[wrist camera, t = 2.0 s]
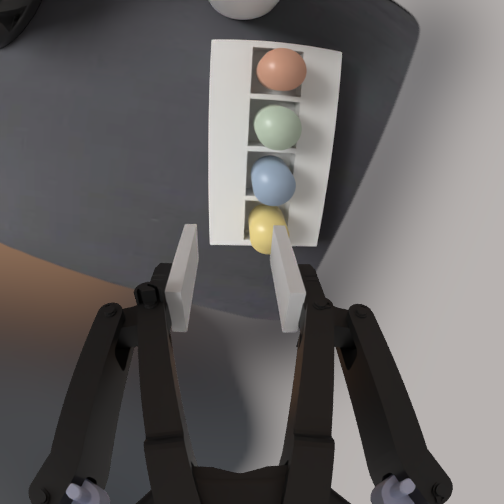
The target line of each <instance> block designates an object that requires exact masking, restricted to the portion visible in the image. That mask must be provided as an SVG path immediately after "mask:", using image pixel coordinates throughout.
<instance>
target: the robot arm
mask: <svg viewBox="0 0 504 504" xmlns="http://www.w3.org/2000/svg"><path fill="white" fill-rule="evenodd" d="M40 2H41V0H0V48H2V47H4V46H6V45H7V44H9V43H10V42H11V41H13V40H14V39H15V38H16V37H17V36H18V35H19V34H20V33H21V32H22V31H23V29H24V28H25V27H26V26H27V24H28V23H29V21H30V20H31V18H32V17H33V15H34V14H35V12H36V10H37V8H38V6H39V4H40ZM198 261H199V256H198V240H197V224H185V226H184V229H183V232H182V235H181V238H180V241H179V245H178V248H177V251H176V254H175V258H174V261H173V263H160V264H159V265H158V266H157V267H156V268H155V270H154V273H153V276H152V278H151V281H150V282H146V283H142V284H140V285H138V286H137V287H136V288H135V290H134V295H135V299H136V302H137V305H136V306H134V307H130V308H125V309H122V307H121V306H120V305H119V304H117V303H108V304H105V305H103V306H102V307H101V308H100V309H99V311H98V313H97V315H96V317H95V320H94V322H93V324H92V327H91V329H90V332H89V334H88V337H87V339H86V341H85V344H84V346H83V349H82V352H81V354H80V357H79V360H78V362H77V365H76V368H75V370H74V373H73V376H72V379H71V382H70V385H69V388H68V391H67V394H66V397H65V400H64V404H63V407H62V410H61V414H60V417H59V421H58V425H57V428H56V432H55V436H54V440H53V444H52V448H51V453H50V454H49V456H48V457H47V459H46V461H45V462H44V464H43V465H42V467H41V469H40V470H39V472H38V473H37V475H36V477H35V478H34V480H33V482H32V483H31V485H30V487H29V498H30V500H31V503H32V504H110V498H109V496H108V494H107V493H106V492H105V491H104V489H105V486H106V483H107V480H108V476H109V471H110V464H111V457H112V451H113V445H114V439H115V433H116V427H117V422H118V416H119V411H120V407H121V402H122V398H123V393H124V388H125V384H126V380H127V375H128V371H129V367H130V363H131V359H132V355H133V351H134V348H135V347H136V346H138V359H139V374H140V375H139V376H140V389H141V400H142V409H143V418H144V426H145V433H146V440H145V441H144V452H145V458H146V464H147V470H148V475H149V480H150V485H151V490H150V491H149V492H148V493H147V494H146V495H145V496H144V497H143V498H142V499H141V500H139V501H138V502H137V503H136V504H351V503H349V502H348V501H347V500H345V499H344V498H343V497H342V496H340V495H339V494H338V493H337V492H335V491H334V490H333V489H332V488H331V481H332V471H333V462H334V450H335V443H334V440H333V438H332V436H331V431H332V430H331V429H332V414H333V413H332V412H333V391H334V347H336V350H337V353H338V357H339V360H340V363H341V367H342V370H343V374H344V377H345V381H346V384H347V388H348V391H349V395H350V399H351V402H352V406H353V410H354V414H355V417H356V421H357V425H358V429H359V433H360V437H361V441H362V445H363V449H364V454H365V458H366V461H367V466H368V470H369V473H370V476H371V479H372V481H373V483H374V485H375V488H374V489H373V490H372V493H371V502H372V504H443V503H445V502H446V501H447V500H448V499H449V497H450V496H451V493H452V490H453V485H452V482H451V480H450V478H449V477H448V476H447V474H446V473H445V471H444V470H443V469H442V468H441V466H440V465H439V464H438V462H437V461H436V460H435V458H434V457H433V456H432V454H431V453H430V452H429V450H428V449H427V446H426V443H425V440H424V438H423V434H422V431H421V429H420V426H419V423H418V420H417V417H416V414H415V411H414V409H413V406H412V403H411V401H410V398H409V396H408V393H407V390H406V388H405V385H404V383H403V380H402V378H401V375H400V373H399V370H398V368H397V366H396V363H395V361H394V359H393V356H392V354H391V352H390V349H389V347H388V345H387V342H386V340H385V338H384V336H383V334H382V331H381V330H380V327H379V325H378V323H377V321H376V319H375V316H374V314H373V312H372V311H371V310H370V308H368V307H367V306H365V305H362V304H354V305H352V306H350V308H349V310H346V309H341V308H337V307H335V306H333V304H332V302H331V301H330V300H329V299H327V298H325V296H324V293H323V290H322V287H321V284H320V282H319V279H318V277H317V274H316V271H315V269H314V268H313V267H312V266H311V265H310V264H297V262H296V258H295V255H294V252H293V249H292V246H291V243H290V240H289V236H288V233H287V230H286V227H285V226H281V225H273V234H272V245H271V254H270V264H271V269H272V275H273V280H274V286H275V291H276V297H277V303H278V308H279V314H280V320H281V325H282V331H283V332H297V330H298V326H299V328H300V335H299V339H298V342H297V347H298V349H297V357H296V366H295V373H294V381H293V389H292V396H291V402H290V409H289V416H288V422H287V429H286V434H285V440H284V446H283V452H282V456H281V459H280V463H279V466H268V467H264V468H261V469H257V470H253V471H249V472H245V473H234V472H230V471H225V470H221V469H217V468H214V467H198V465H197V462H196V459H195V456H194V453H193V449H192V445H191V441H190V436H189V432H188V428H187V423H186V419H185V414H184V409H183V404H182V400H181V394H180V389H179V383H178V377H177V371H176V365H175V359H174V353H173V346H172V339H171V334H170V329H171V326H172V330H173V331H175V332H176V331H177V332H187V329H188V322H189V315H190V309H191V302H192V296H193V290H194V284H195V278H196V272H197V266H198Z"/></svg>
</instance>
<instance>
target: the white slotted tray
mask: <svg viewBox="0 0 504 504" xmlns="http://www.w3.org/2000/svg"><path fill="white" fill-rule="evenodd" d="M277 48H287V49H291V50H293V51H295V52H297V53H298V54H299V55H300V56H301V57H302V58H303V60H304V61H305V64H306V68H307V73H306V77H305V79H304V81H303V82H302V84H301V85H299V86H298V87H297V88H295V89H292V90H289V91H275V90H270V89H268V88H266V87H264V86H263V85H262V84H261V83H260V82H259V80H258V78H257V75H256V68H257V65H258V63H259V61H260V60H261V59H262V58H263V56H264V55H265V54H266V53H268V52H269V51H271V50H273V49H277ZM341 62H342V52H339V51H334V50H329V49H323V48H318V47H312V46H305V45H298V44H290V43H281V42H270V41H255V40H212V44H211V64H210V92H209V230H210V245H252V244H251V242H250V233H249V222H248V218H249V214H250V212H251V211H252V209H253V208H254V207H256V206H258V205H260V204H263V203H261V202H260V201H259V200H258V199H257V198H256V196H255V194H254V192H253V186H252V180H251V168H252V166H253V164H254V163H255V162H256V161H257V160H258V159H259V158H261V157H263V156H268V155H272V156H276V157H279V158H281V159H282V160H283V161H284V162H285V163H286V165H287V167H288V168H289V170H290V171H291V173H292V175H293V176H294V179H295V182H296V188H295V192H294V194H293V196H292V197H291V199H290V200H289V201H287V202H286V203H284V204H282V205H279V206H277V207H278V208H280V210H281V211H282V213H283V216H284V219H285V222H286V225H287V228H288V231H289V240H290V243H291V246H317V241H318V236H319V230H320V225H321V219H322V213H323V208H324V202H325V196H326V189H327V183H328V177H329V170H330V163H331V156H332V148H333V141H334V133H335V125H336V116H337V107H338V97H339V86H340V75H341ZM270 104H276V105H280V106H283V107H285V108H288V109H290V110H292V111H293V112H294V113H295V114H296V115H297V116H298V117H299V119H300V122H301V126H302V131H301V136H300V138H299V140H298V141H297V142H296V144H294V145H293V146H292V147H290V148H288V149H285V150H272V149H269V148H267V147H266V146H264V145H263V144H262V143H261V142H260V140H259V139H258V136H257V134H256V132H255V130H254V126H253V120H254V116H255V114H256V113H257V111H258V110H259V109H261V108H262V107H264V106H266V105H270Z"/></svg>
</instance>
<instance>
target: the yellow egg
mask: <svg viewBox="0 0 504 504" xmlns="http://www.w3.org/2000/svg"><path fill="white" fill-rule="evenodd" d="M248 222H249V233H250V242H251V244H252V246H253V248H254V249H255V250H257V251H258V252H260V253H263V254H271V245H272V234H273V225H281V226H285V227H286V230H287V233H288V236H289V231H288V228H287V225H286V222H285V219H284V216H283V213H282V211H281V210H280V208H278V207H277V206H268V205H265V204H260V205H258V206H256V207H254V208H253V209H252V211H251V212H250V214H249V218H248Z"/></svg>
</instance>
